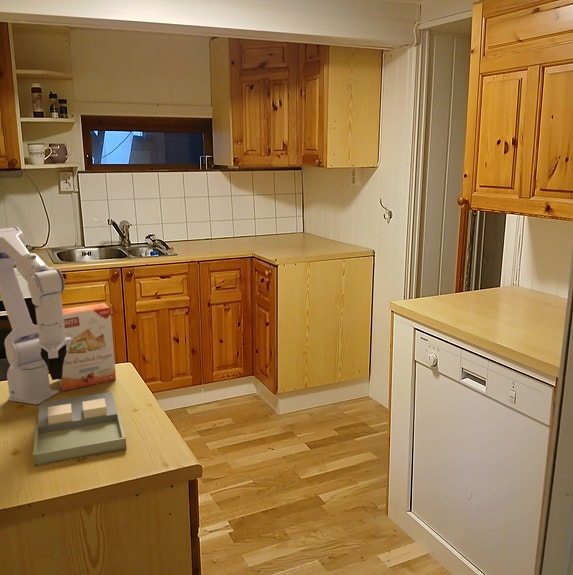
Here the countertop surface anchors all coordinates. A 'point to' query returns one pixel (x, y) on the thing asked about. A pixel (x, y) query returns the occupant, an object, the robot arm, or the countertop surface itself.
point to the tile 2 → (94, 408)
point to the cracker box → (88, 346)
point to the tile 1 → (59, 414)
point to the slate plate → (76, 413)
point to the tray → (78, 442)
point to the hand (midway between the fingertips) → (56, 377)
